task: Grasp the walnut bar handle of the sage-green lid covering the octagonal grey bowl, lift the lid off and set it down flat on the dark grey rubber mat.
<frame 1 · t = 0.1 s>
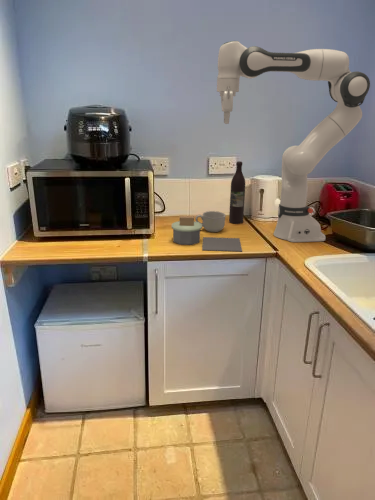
hand: (226, 123, 156), 48 cm above the worktop, fingers open, 8 cm apart
mat: (221, 244, 159), on the worktop
octagonal grey bowl: (186, 240, 163), on the worktop
teacup: (210, 230, 178), on the worktop
lid: (186, 227, 161), point 6 cm above the worktop, touching octagonal grey bowl
wine bottle: (235, 222, 191), on the worktop
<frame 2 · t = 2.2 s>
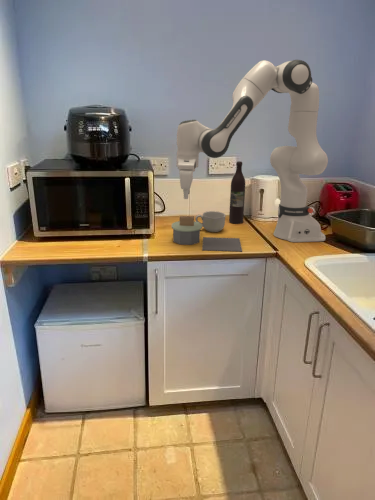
hand: (186, 196, 157), 19 cm above the worktop, fingers open, 8 cm apart
nothing on the worktop moved.
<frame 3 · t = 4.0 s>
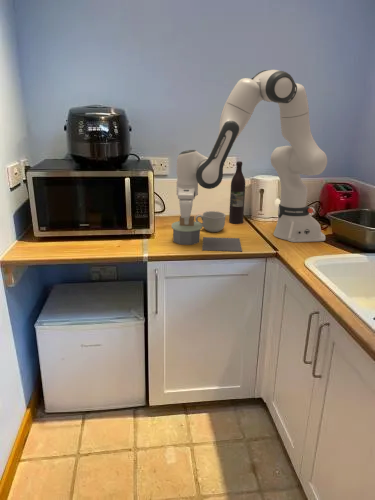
hand: (186, 222, 161), 8 cm above the worktop, fingers closed on lid, 2 cm apart
lid: (186, 227, 161), point 6 cm above the worktop, touching gripper, octagonal grey bowl
everything else where it was.
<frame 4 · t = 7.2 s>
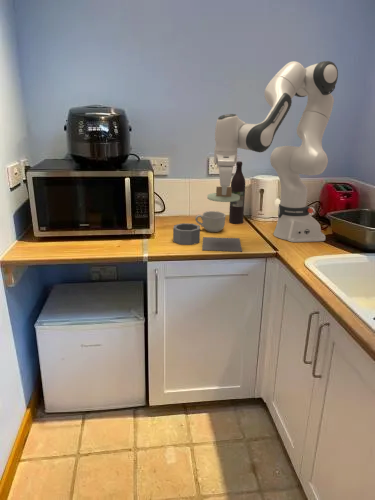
hand: (223, 193, 151), 22 cm above the worktop, fingers closed on lid, 2 cm apart
lid: (223, 198, 152), point 20 cm above the worktop, touching gripper
everything else where it was.
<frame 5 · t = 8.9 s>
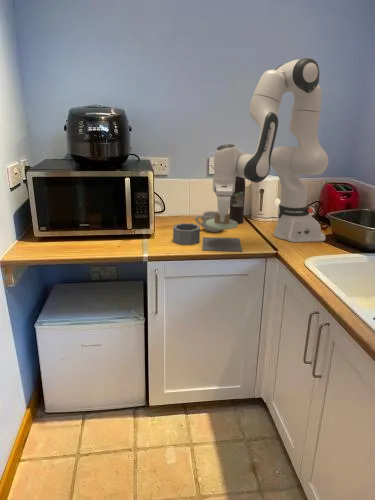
hand: (222, 220, 155), 11 cm above the worktop, fingers closed on lid, 2 cm apart
lid: (221, 224, 156), point 9 cm above the worktop, touching gripper
everything else where it was.
when the fingers open (4 cm above the worktop, at t = 10.5 s): lid drops 2 cm, resting on mat.
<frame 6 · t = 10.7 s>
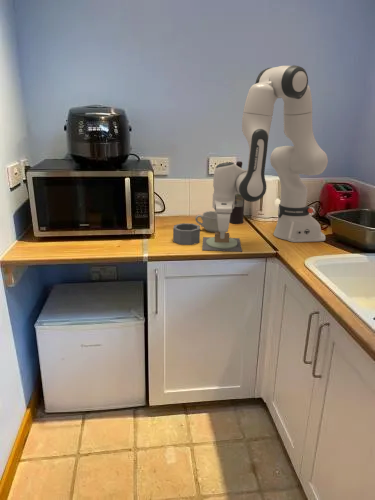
hand: (222, 236, 158), 4 cm above the worktop, fingers open, 4 cm apart
lid: (221, 243, 159), resting on mat
everything else where it was.
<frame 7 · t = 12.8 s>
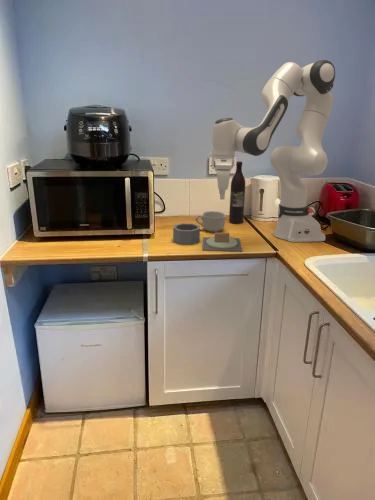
hand: (221, 196, 153), 20 cm above the worktop, fingers open, 8 cm apart
nothing on the worktop moved.
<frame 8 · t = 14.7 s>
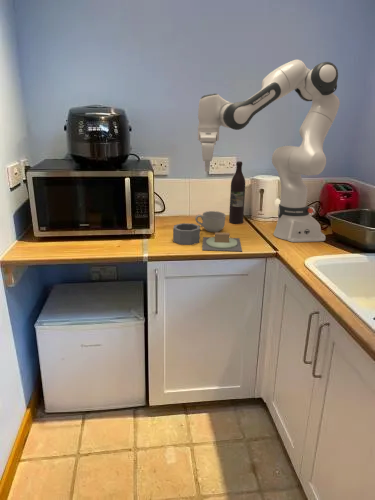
hand: (207, 169, 161), 29 cm above the worktop, fingers open, 8 cm apart
nothing on the worktop moved.
at the end: lid inside the target area on the mat (0.0 cm from its centre), point 0.4 cm above the mat's base; lid touching mat; lid tilted 0° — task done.
